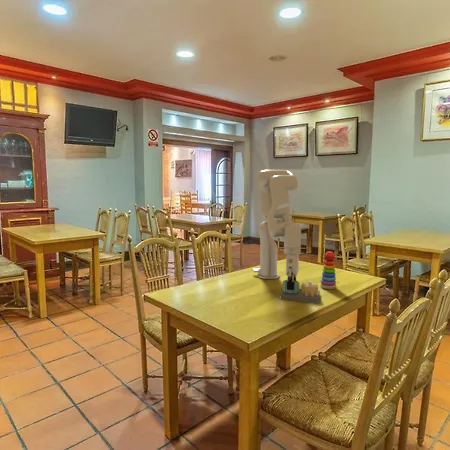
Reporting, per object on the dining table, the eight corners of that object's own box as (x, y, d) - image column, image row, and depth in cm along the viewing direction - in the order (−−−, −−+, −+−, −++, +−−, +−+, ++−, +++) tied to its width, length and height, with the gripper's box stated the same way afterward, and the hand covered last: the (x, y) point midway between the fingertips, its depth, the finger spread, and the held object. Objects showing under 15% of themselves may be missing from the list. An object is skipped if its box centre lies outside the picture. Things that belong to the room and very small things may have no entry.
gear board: (280, 299, 162) (280, 282, 161) (284, 291, 173) (284, 276, 172) (318, 303, 156) (318, 286, 155) (319, 294, 168) (320, 278, 167)
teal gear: (281, 292, 163) (281, 283, 163) (284, 287, 171) (284, 278, 170) (297, 294, 161) (298, 285, 161) (299, 289, 168) (299, 280, 168)
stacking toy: (337, 290, 174) (338, 253, 172) (320, 289, 176) (321, 252, 173) (335, 285, 182) (336, 250, 180) (319, 284, 184) (320, 249, 181)
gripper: (298, 254, 154) (297, 293, 156) (302, 247, 170) (301, 282, 173) (281, 253, 156) (280, 292, 158) (286, 246, 172) (286, 281, 175)
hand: (291, 286), depth 165 cm, fingers closed on teal gear, 7 cm apart
